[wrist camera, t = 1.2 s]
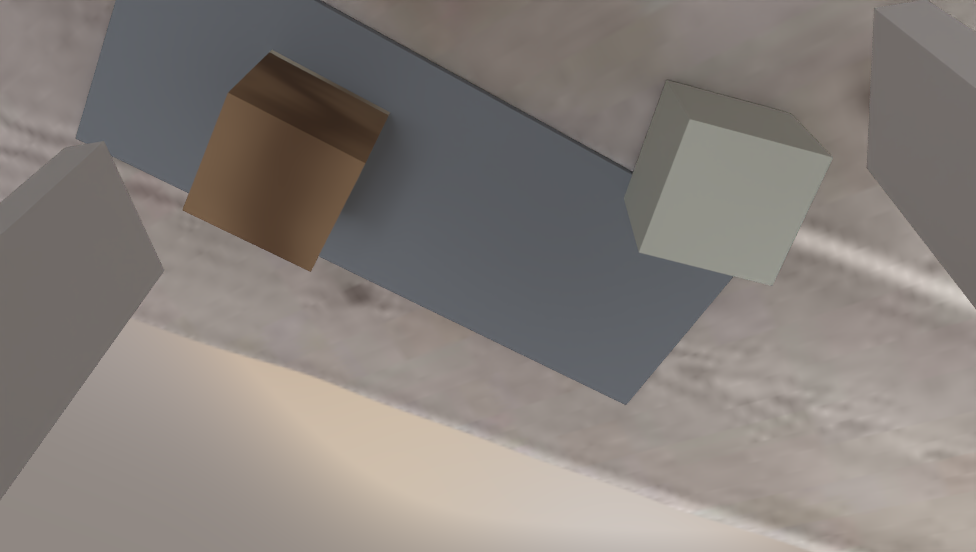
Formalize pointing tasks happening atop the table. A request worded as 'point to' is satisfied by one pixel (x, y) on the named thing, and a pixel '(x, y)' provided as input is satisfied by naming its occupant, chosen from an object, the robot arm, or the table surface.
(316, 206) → the walnut cube
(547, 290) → the mat
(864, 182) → the table surface
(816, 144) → the grey cube
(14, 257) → the robot arm
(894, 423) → the table surface
